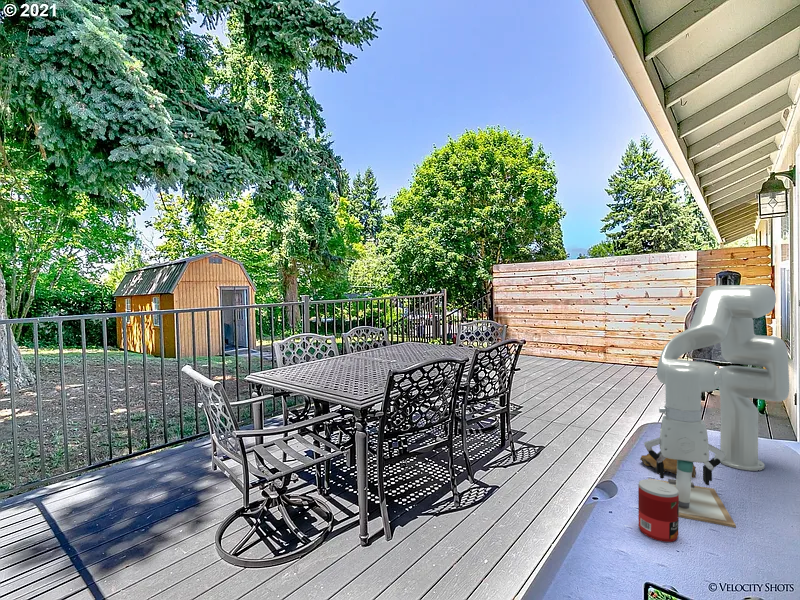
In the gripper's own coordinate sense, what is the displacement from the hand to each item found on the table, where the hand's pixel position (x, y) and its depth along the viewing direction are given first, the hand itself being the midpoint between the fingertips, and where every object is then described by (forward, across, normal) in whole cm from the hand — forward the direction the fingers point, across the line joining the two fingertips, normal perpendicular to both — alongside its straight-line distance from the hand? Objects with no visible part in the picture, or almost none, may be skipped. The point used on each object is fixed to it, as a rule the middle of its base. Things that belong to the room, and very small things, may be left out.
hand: (683, 479), depth 107 cm
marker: (+7, 0, 0) cm, 7 cm away
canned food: (+8, -7, -15) cm, 18 cm away
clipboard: (+8, +2, +5) cm, 10 cm away
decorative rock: (+9, 0, +26) cm, 28 cm away
